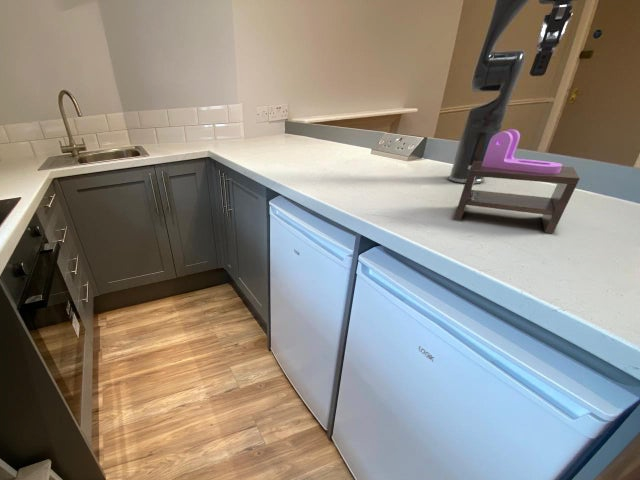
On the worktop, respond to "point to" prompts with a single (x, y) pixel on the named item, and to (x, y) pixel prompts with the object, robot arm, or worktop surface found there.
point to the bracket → (503, 153)
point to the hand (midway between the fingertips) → (536, 75)
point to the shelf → (521, 203)
